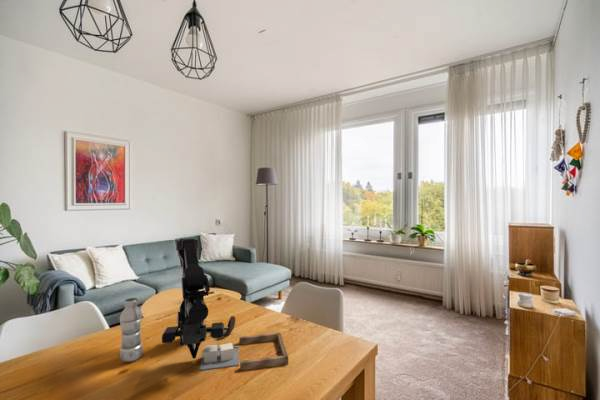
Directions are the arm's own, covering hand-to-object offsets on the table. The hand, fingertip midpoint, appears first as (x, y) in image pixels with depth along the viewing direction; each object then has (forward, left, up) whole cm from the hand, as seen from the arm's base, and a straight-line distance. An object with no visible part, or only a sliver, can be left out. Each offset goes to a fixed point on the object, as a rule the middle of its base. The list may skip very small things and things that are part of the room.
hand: (194, 357), depth 94 cm
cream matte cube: (+5, 0, -1) cm, 5 cm away
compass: (+9, +17, -2) cm, 19 cm away
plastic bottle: (-21, +6, -1) cm, 22 cm away
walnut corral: (+22, 0, -1) cm, 22 cm away
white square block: (+10, 0, -1) cm, 10 cm away
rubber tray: (+8, 0, -1) cm, 8 cm away
